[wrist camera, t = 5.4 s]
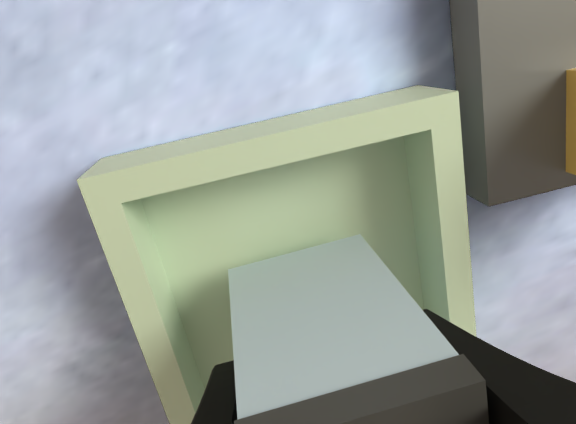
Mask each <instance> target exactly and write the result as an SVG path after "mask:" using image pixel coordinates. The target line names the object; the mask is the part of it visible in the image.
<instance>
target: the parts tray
mask: <svg viewBox="0 0 576 424" xmlns="http://www.w3.org/2000/svg"><path fill="white" fill-rule="evenodd" d="M77 183H78V185H79V188H80V190H81V193H82V196H83V198H84V201H85V203H86V206H87V209H88V211H89V214H90V217H91V219H92V222H93V224H94V227H95V230H96V232H97V235H98V237H99V240H100V243H101V245H102V248H103V251H104V253H105V256H106V258H107V261H108V264H109V266H110V269H111V272H112V274H113V277H114V279H115V282H116V285H117V287H118V290H119V292H120V295H121V298H122V300H123V303H124V306H125V308H126V311H127V313H128V316H129V319H130V321H131V324H132V326H133V329H134V332H135V334H136V337H137V340H138V342H139V345H140V347H141V350H142V353H143V355H144V358H145V360H146V363H147V366H148V368H149V371H150V374H151V376H152V379H153V381H154V384H155V387H156V389H157V392H158V394H159V397H160V400H161V402H162V405H163V408H164V410H165V413H166V415H167V418H168V421H169V423H170V424H191V422H192V420H193V418H194V415H195V413H196V411H197V409H198V406H199V404H200V401H201V399H202V396H203V394H204V391H205V389H206V386H207V383H208V380H209V378H210V375H211V372H212V369H213V368H214V366H215V365H217V364H221V363H225V362H229V361H232V360H234V357H233V342H232V326H231V310H230V294H229V278H228V269H232V268H235V267H239V266H243V265H247V264H250V263H254V262H258V261H262V260H265V259H269V258H273V257H276V256H280V255H284V254H288V253H291V252H295V251H299V250H303V249H306V248H310V247H314V246H318V245H321V244H325V243H329V242H332V241H336V240H340V239H344V238H347V237H351V236H355V235H359V234H360V235H361V236H362V237H363V238H364V239H365V241H366V242H367V243H368V244H369V246H370V247H371V248H372V249H373V250H374V252H375V253H376V254H377V255H378V256H379V258H380V259H381V260H382V261H383V263H384V264H385V265H386V266H387V267H388V269H389V270H390V271H391V272H392V274H393V275H394V276H395V277H396V278H397V280H398V281H399V282H400V283H401V285H402V286H403V287H404V288H405V289H406V291H407V292H408V293H409V294H410V296H411V297H412V298H413V299H414V300H415V302H416V303H417V304H418V305H419V306H420V308H421V309H422V310H424V309H428V310H430V311H432V312H433V313H435V314H437V315H439V316H440V317H442V318H444V319H446V320H447V321H449V322H451V323H453V324H454V325H456V326H458V327H459V328H461V329H463V330H465V331H467V332H468V333H470V334H472V335H474V336H475V337H476V325H475V311H474V297H473V284H472V270H471V256H470V243H469V229H468V215H467V202H466V188H465V174H464V161H463V147H462V133H461V120H460V106H459V92H458V91H455V90H448V89H441V88H434V87H427V86H421V85H416V86H412V87H407V88H403V89H399V90H394V91H390V92H386V93H381V94H377V95H373V96H368V97H364V98H360V99H355V100H351V101H347V102H342V103H338V104H334V105H329V106H325V107H321V108H316V109H312V110H308V111H303V112H299V113H295V114H290V115H286V116H282V117H277V118H273V119H269V120H264V121H260V122H256V123H251V124H247V125H243V126H238V127H234V128H230V129H225V130H221V131H217V132H212V133H208V134H204V135H199V136H195V137H191V138H186V139H182V140H178V141H173V142H169V143H165V144H160V145H156V146H152V147H147V148H143V149H139V150H134V151H130V152H126V153H121V154H117V155H113V156H108V157H104V158H101V159H100V160H99V161H98V162H97V163H95V164H94V165H93V166H92V167H91V168H90V169H89V170H87V171H86V172H85V173H84V174H83V175H82V176H81V177H79V178H78V179H77Z"/></svg>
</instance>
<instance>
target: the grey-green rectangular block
mask: <svg viewBox="0 0 576 424" xmlns="http://www.w3.org/2000/svg"><path fill="white" fill-rule="evenodd" d="M228 278H229V294H230V310H231V326H232V342H233V357H234V373H235V389H236V405H237V420H235V421H234V424H489V415H488V403H487V391H486V380H485V379H484V378H483V377H482V376H481V374H480V373H479V372H478V371H477V370H476V368H475V367H474V366H473V365H472V364H471V362H470V361H469V360H468V359H467V358H466V356H465V355H464V354H461V355H459V354H458V353H457V352H456V350H455V349H454V348H453V347H452V345H451V344H450V343H449V342H448V341H447V339H446V338H445V337H444V336H443V335H442V333H441V332H440V331H439V330H438V328H437V327H436V326H435V325H434V324H433V322H432V321H431V320H430V319H429V317H428V316H427V315H426V314H425V313H424V311H423V310H422V309H421V308H420V306H419V305H418V304H417V303H416V302H415V300H414V299H413V298H412V297H411V296H410V294H409V293H408V292H407V291H406V289H405V288H404V287H403V286H402V285H401V283H400V282H399V281H398V280H397V278H396V277H395V276H394V275H393V274H392V272H391V271H390V270H389V269H388V267H387V266H386V265H385V264H384V263H383V261H382V260H381V259H380V258H379V256H378V255H377V254H376V253H375V252H374V250H373V249H372V248H371V247H370V246H369V244H368V243H367V242H366V241H365V239H364V238H363V237H362V236H361V235H360V234H359V235H355V236H351V237H347V238H344V239H340V240H336V241H332V242H329V243H325V244H321V245H318V246H314V247H310V248H306V249H303V250H299V251H295V252H291V253H288V254H284V255H280V256H276V257H273V258H269V259H265V260H262V261H258V262H254V263H250V264H247V265H243V266H239V267H235V268H232V269H228Z"/></svg>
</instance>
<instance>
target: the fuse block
mask: <svg viewBox="0 0 576 424" xmlns="http://www.w3.org/2000/svg"><path fill="white" fill-rule="evenodd" d="M449 1H450V15H451V28H452V41H453V55H454V68H455V81H456V91H458V92H459V106H460V120H461V133H462V147H463V161H464V174H465V188H466V194H467V195H469V196H471V197H472V198H474V199H476V200H478V201H480V202H481V203H483V204H485V205H487V206H493V205H497V204H501V203H505V202H509V201H513V200H517V199H521V198H525V197H529V196H533V195H537V194H541V193H545V192H549V191H553V190H557V189H561V188H565V187H569V186H573V185H576V0H449Z"/></svg>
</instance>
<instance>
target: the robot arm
mask: <svg viewBox="0 0 576 424" xmlns="http://www.w3.org/2000/svg"><path fill="white" fill-rule="evenodd" d="M423 311H424V313H425V314H426V315H427V316H428V317H429V319H430V320H431V321H432V322H433V324H434V325H435V326H436V327H437V328H438V330H439V331H440V332H441V333H442V335H443V336H444V337H445V338H446V339H447V341H448V342H449V343H450V344H451V345H452V347H453V348H454V349H455V350H456V352H457V353H458V354H459V355H461V354H464V355H465V356H466V358H467V359H468V360H469V361H470V362H471V364H472V365H473V366H474V367H475V368H476V370H477V371H478V372H479V373H480V374H481V376H482V377H483V378H484V379H485V380H486V391H487V403H488V415H489V424H576V383H575V382H572V381H570V380H567V379H564V378H562V377H559V376H557V375H554V374H552V373H549V372H547V371H545V370H542V369H540V368H538V367H535V366H533V365H531V364H529V363H527V362H525V361H523V360H520V359H518V358H516V357H514V356H512V355H510V354H508V353H506V352H504V351H502V350H500V349H498V348H496V347H494V346H492V345H490V344H488V343H487V342H485V341H483V340H481V339H479V338H477V337H475V336H474V335H472V334H470V333H468V332H467V331H465V330H463V329H461V328H459V327H458V326H456V325H454V324H453V323H451V322H449V321H447V320H446V319H444V318H442V317H440V316H439V315H437V314H435V313H433V312H432V311H430V310H428V309H424V310H423ZM235 420H237V405H236V389H235V373H234V360H232V361H229V362H225V363H221V364H217V365H215V366H214V368H213V369H212V372H211V375H210V378H209V380H208V383H207V386H206V389H205V391H204V394H203V396H202V399H201V401H200V404H199V406H198V409H197V411H196V413H195V415H194V418H193V420H192V422H191V424H234V421H235Z"/></svg>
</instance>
